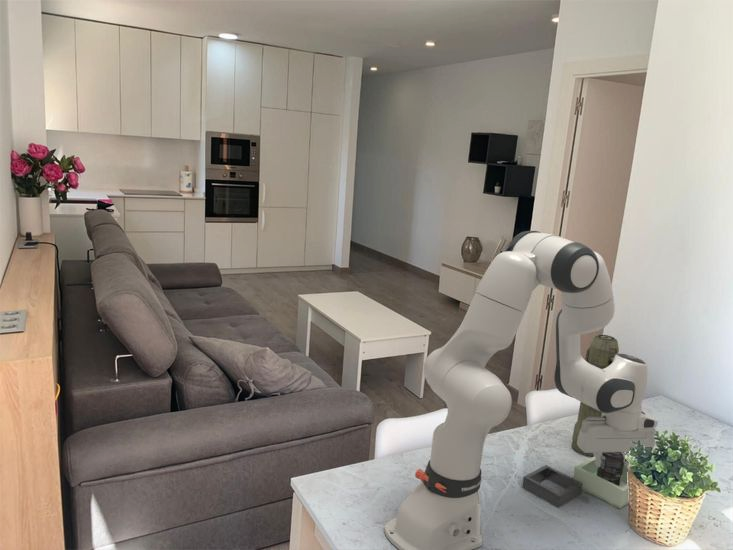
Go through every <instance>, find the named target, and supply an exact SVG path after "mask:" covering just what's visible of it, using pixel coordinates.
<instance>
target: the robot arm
mask: <svg viewBox="0 0 733 550" xmlns="http://www.w3.org/2000/svg"><path fill="white" fill-rule="evenodd" d="M484 272H485V273H484V274H483V276H482V278H481V280H480V282H479V283H478V286H477V288H476V290H475V293H474V295H473V297H472V300H471V302H470V304H469V306H468V308H467V311H466V314H465V315H464V317H463V320H462V322H461V324H460V326H459V327H458V328H457V329H456V331H455V333H454V334H453V335H452V336H451V338H450V339H449V340H448V341H447V342H446V343H445V344H444V345H443V346H442V347H438V348H437V349H434V350H433V351H432V352H431V353H430V354H428V356H427V357H426V359H425V361H424V364H423V375H424V378H425V380H426V382H427V384H428V386H429V387H430V388H431V390H432V391H433V392H434V393H435V394H436V395H437V396H438V397H439V398H440V399H442V401H444V402H445V404H446V407H447V413H446V418H445V419H444V422H443V423H440V424H439V425H437V426H436V427H434V428H435V429H434V430H433V433H432V442H431V450H430V459H429V461H428V462H427V465H426V466H425V470H424V471H423V469H420V468H417V470H416V471H415V474H414V477H415V478H416V479H419V480H420V482H419V483H418V484H417V485H416V486H415V488H414V489H413V490H412V491H411V492H410V493H409V495H407V497H406V498H405V499H404V500H403V501H402V503H401V504H399V508H398V510H397V513H396V516H395V517H394V518H392V519H391V520H389V522H387V523H385V525H384V528H383V531H384V534H385V536H386V538H387V539H388V540H389V541H390V542H391V544H392V545H393V546H394V547H395V548H397V550H474V549H478V548H480V547H482V546H483V537H482V535H481V511H482V510H481V503H480V501H481V500H480V497H479V490H480V489H481V484H482V478H483V477H482V468H481V465H482V460H483V459H482V457H483V452H484V445H485V442H486V439H487V437H488V434H489V432H490V431H491V429H492V428H494V427H496V426H497V427H498V426H499V425H500V424H502V422H504V421H505V420H506V419H507V417H508V416H509V414H510V411H511V409H512V403H513V399H512V394H511V392H510V390H509V389H508V387H506V386H505V384H504V383H503V382H502V380H501V379H500V378H499V376H497V375H496V374H494V373H493V372H492V371H490V370H489V369H487V368H486V365H487V364H488V362H489V360H490V359H491V358H492V357H493V356H494V355H495V354H496V353H498V352H499V351H502V350H505V349H507V348H509V347H510V345H512V343H513V341H514V339H515V337H516V334H517V332H518V330H519V327H520V324H521V322H522V320H523V318H524V315H525V312H527V308H528V306H529V302H530V300H531V298H532V294H533V291H535V289H536V288H537V287H538V286H539V285H541V286H544V287H546V288H549V289H553V290H554V289H555V290H557V291H560V297H561V302H562V308H561V309H560V310H559V312H558V313H557V316H556V320H555V321H556V322H555V346H556V347H555V353H556V363H555V370H554V374H553V375H554V376H553V378H554V384H555V387H556V389H557V390H558V392H559V393H561V394H562V395H566V396H568V397H570V398H572V399H576V400H577V401H578V402H579V403H580V402H582V403H584V404H586V405H588V406H590V407H592V408H594V409H596V410H598V411H601V412H602V416H597V417H593V416H590V417H588V418H586V419H585V420H583V422H582V426H581V429H580V432H579V436H578V439H577V445H578V447H579V448H580V449H581V450H582V451H583V452H585V453H593V455H594V457H595V465H596V466H597V467H603V466H604V465H603V464H604V461H603V460H602V459H601V458H600V456H602V453H605V452H624V453H625V455H626V454H627V453H629V448H630V447H636V444H633V443H631V442H632V441H633V442H637V441H638V440H640V442H641V444H642V445H643V446H645V447H652V448H653V449H654V448H655V445H656V441H655V439H654V436H655V432H656V433H657V430H656V428H657V427H658V423H659V422H658V420H657V419H655V418H654V417H653V416H652V415H650V414H649V413H647V412H646V411H644V410H643V409H642V408H643V407H642V403H641V401H642V402H643V399H644V397H645V394H646V389H647V382H648V365H647V363H646V362H645V361H644V360H642V359H641V358H638V357H636V356H633V355H629V354H625V353H618V354H616V355H615V357H614V360H613V362H612V364H611V365H609V366H608V367H606V368H604V369H600V368H598V367H596V366H593V365H591V364H589V363H588V362H587V361H585V359H584V358H583V356H582V353H581V349H582V348H581V339H582V338H581V335H587V334H592V333H596V332H598V331H601V330H602V329H604V328H606V327H607V325H609V324H610V322H611V321H612V319H613V318H614V315H615V300H614V292H613V287H612V282H611V278H610V274H609V270H608V268H607V265H606V261H605V259H604V258H603V256H602V255H601V254H600V253H599V252H597V251H594V250H592V249H591V248H590V247H589V246H587V245H585V244H583V243H580V242H574V241H572V240H570V239H567V238H564V237H562V236H560V235H558V234H554V233H546V232H541V231H538V230H527V231H521V232H520V233H517V234H516V235H515V236H514V237H513V238H512V239H511V240H510V242H509V243H508V245H507V247H506V249H505V251H502V252H500V253H498V254H497V255H496V256H495V257H494V258H493V260H492V261H491V263H490V264H489V266H488V268H486V271H484ZM629 465H630V461H629V462H628V461H627V460H626V459H625V462H624V467H630V466H629Z"/></svg>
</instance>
